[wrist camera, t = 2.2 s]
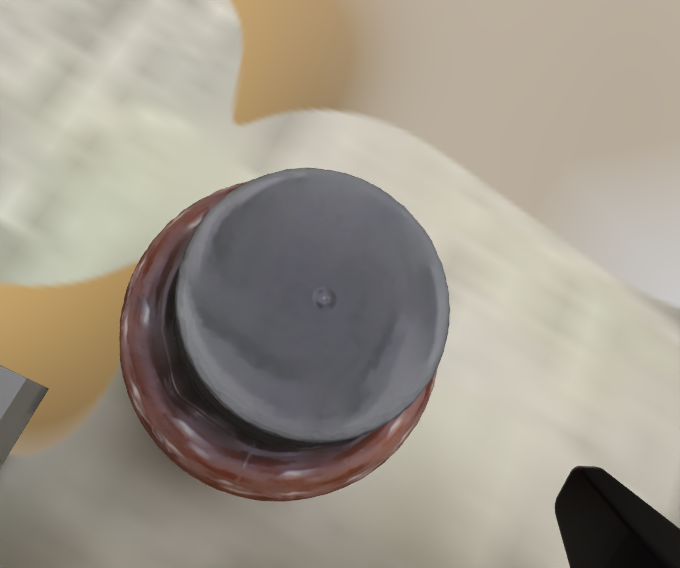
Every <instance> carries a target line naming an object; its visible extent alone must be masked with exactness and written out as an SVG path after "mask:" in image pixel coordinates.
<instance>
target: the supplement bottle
mask: <svg viewBox="0 0 680 568" xmlns="http://www.w3.org/2000/svg"><path fill="white" fill-rule="evenodd" d="M449 313H450V305H449V292H448V286H447V283H446V277H445V274H444V270H443V266H442V263H441V261H440V259H439V257H438V255H437V252H436V250H435V247H434V245H433V243H432V240H431V239H430V237H429V236H428V234H427V233H426V231H425V230H424V229H423V227H422V226H421V225H420V224H419V223H418V222H417V220H416V219H415V218H414V217H413V216H412V215H411V214H410V212H409V211H408V210H407V209H406V208H405V207H404V206H403V205H402V204H400V203H399V202H397V201H396V200H395V199H394V198H393V197H391V196H390V195H389V194H387V193H386V192H384V191H383V190H382V189H380V188H378V187H376V186H375V185H373V184H370V183H368V182H366V181H365V180H363V179H360V178H357V177H354V176H351V175H349V174H346V173H341V172H336V171H332V170H323V169H316V168H298V169H286V170H283V171H279V172H276V173H272V174H267V175H265V176H262V177H259V178H257V179H253V180H251V181H248V182H245V183H241V184H236V185H234V186H231V187H228V188H225V189H221V190H218V191H216V192H215V193H213V194H211V195H210V196H207V197H205V198H203V199H201V200H199V201H197V202H196V203H194V204H193V205H191V206H190V207H188V208H187V209H184V210H183V211H182V212H181V213H180V214H179V215H178V216H177V217H176V218H175V219H173V220H171V221H170V222H169V223H168V224H167V225H166V226H165V228H164V229H163V230H162V231H161V232H160V233H159V234H158V235H157V237H156V238H155V239H154V240H153V241H152V242H151V244H150V245H149V247H148V249H147V250H146V251H145V252H144V254H143V256H142V257H141V259H140V261H139V263H138V264H137V266H136V269H135V271H134V273H133V274H132V277H131V280H130V282H129V285H128V287H127V290H126V294H125V298H124V304H123V308H122V312H121V318H120V362H121V368H122V373H123V378H124V382H125V385H126V389H127V392H128V395H129V398H130V400H131V403H132V405H133V407H134V410H135V412H136V414H137V416H138V417H139V419H140V421H141V423H142V425H143V426H144V428H145V429H146V431H147V432H148V433H149V435H150V436H151V438H152V439H153V440H154V442H155V443H156V444H157V446H158V447H159V448H160V449H161V450H162V451H163V452H164V453H165V454H166V455H167V456H168V457H169V458H170V459H171V460H172V461H173V462H174V463H176V464H177V465H178V466H179V467H180V468H182V469H183V470H184V471H186V472H187V473H188V474H190V475H191V476H193V477H194V478H196V479H198V480H199V481H201V482H203V483H205V484H206V485H208V486H211V487H213V488H215V489H217V490H220V491H223V492H226V493H229V494H232V495H236V496H239V497H244V498H249V499H253V500H259V501H292V500H301V499H307V498H312V497H316V496H320V495H324V494H328V493H330V492H333V491H336V490H339V489H341V488H344V487H346V486H348V485H350V484H352V483H354V482H356V481H358V480H360V479H362V478H364V477H365V476H367V475H368V474H369V473H371V472H372V471H374V470H375V469H376V468H377V467H379V466H380V465H382V464H383V463H384V462H385V461H386V460H387V459H388V458H389V457H390V456H391V455H392V454H394V453H395V452H396V451H397V450H398V449H399V448H400V446H401V445H402V444H403V442H404V441H405V440H406V438H407V437H408V436H409V434H410V433H411V432H412V430H413V429H414V428H415V426H416V425H417V423H418V421H419V419H420V417H421V415H422V413H423V412H424V410H425V408H426V405H427V402H428V400H429V397H430V395H431V392H432V389H433V387H434V382H435V378H436V373H437V368H438V365H439V362H440V360H441V357H442V354H443V352H444V347H445V343H446V340H447V335H448V327H449Z"/></svg>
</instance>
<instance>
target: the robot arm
mask: <svg viewBox="0 0 680 568" xmlns="http://www.w3.org/2000/svg"><path fill="white" fill-rule="evenodd" d="M555 514H556V518H557V522H558V526H559V529H560V533H561V536H562V540H563V543H564V547H565V551H566V554H567V558H568V561H569V565H570V568H680V529H679V528H678V527H677V526H675V525H674V524H673V523H672V522H670V521H669V520H668V519H666V518H665V517H664V516H663V515H661V514H660V513H659V512H657V511H656V510H655V509H654V508H652V507H651V506H650V505H648V504H647V503H646V502H645V501H643V500H642V499H641V498H639V497H638V496H637V495H636V494H634V493H633V492H632V491H630V490H629V489H628V488H627V487H625V486H624V485H623V484H621V483H620V482H619V481H617V480H616V479H615V478H614V477H612V476H611V475H610V474H608V473H607V472H606V471H605V470H603V469H602V468H599V467H594V466H577V467H575V468H573V469H572V471H571V472H570V474H569V476H568V477H567V479H566V481H565V483H564V485H563V487H562V489H561V490H560V492H559V494H558V496H557V498H556V502H555Z"/></svg>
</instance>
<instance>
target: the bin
mask: <svg viewBox="0 0 680 568" xmlns="http://www.w3.org/2000/svg"><path fill="white" fill-rule="evenodd" d="M47 391H48V388H46V387H44V386H42V385H40V384H38V383H36V382H34V381H32V380H30V379H28V378H26V377H24V376H21V375H19V374H17V373H15V372H13V371H11V370H9V369H7V368H5V367H3V366H1V365H0V467H1V465H2V464H3V462H4V461H5V459H6V457H7V456H8V454H9V452H10V451H11V449H12V448H13V446H14V444H15V443H16V441H17V439H18V438H19V436H20V435H21V433H22V431H23V430H24V428H25V426H26V425H27V423H28V422H29V420H30V418H31V417H32V415H33V413H34V412H35V410H36V409H37V407H38V405H39V404H40V402H41V400H42V399H43V397H44V396H45V394H46V392H47Z"/></svg>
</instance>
